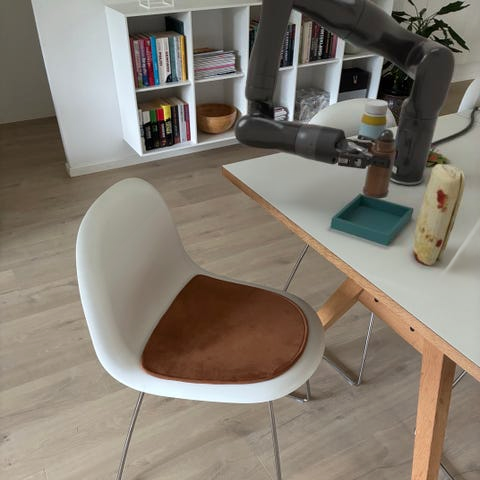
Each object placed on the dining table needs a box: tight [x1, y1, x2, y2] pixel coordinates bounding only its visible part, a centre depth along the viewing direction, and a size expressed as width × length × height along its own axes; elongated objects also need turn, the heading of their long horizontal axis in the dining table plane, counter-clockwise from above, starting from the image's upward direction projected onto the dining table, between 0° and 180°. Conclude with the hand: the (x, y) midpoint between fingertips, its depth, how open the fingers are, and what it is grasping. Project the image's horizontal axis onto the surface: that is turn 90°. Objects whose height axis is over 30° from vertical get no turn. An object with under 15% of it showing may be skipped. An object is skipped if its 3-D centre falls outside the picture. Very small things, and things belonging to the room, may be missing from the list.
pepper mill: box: [362, 128, 396, 199], centre depth 112 cm, size 6×6×14 cm
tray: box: [330, 193, 415, 247], centre depth 121 cm, size 16×14×3 cm
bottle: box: [358, 98, 389, 151], centre depth 151 cm, size 7×7×15 cm
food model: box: [412, 163, 466, 267], centre depth 104 cm, size 10×7×20 cm
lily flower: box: [426, 145, 452, 167], centre depth 152 cm, size 12×12×5 cm
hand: (394, 158), depth 111 cm, fingers closed on pepper mill, 5 cm apart
